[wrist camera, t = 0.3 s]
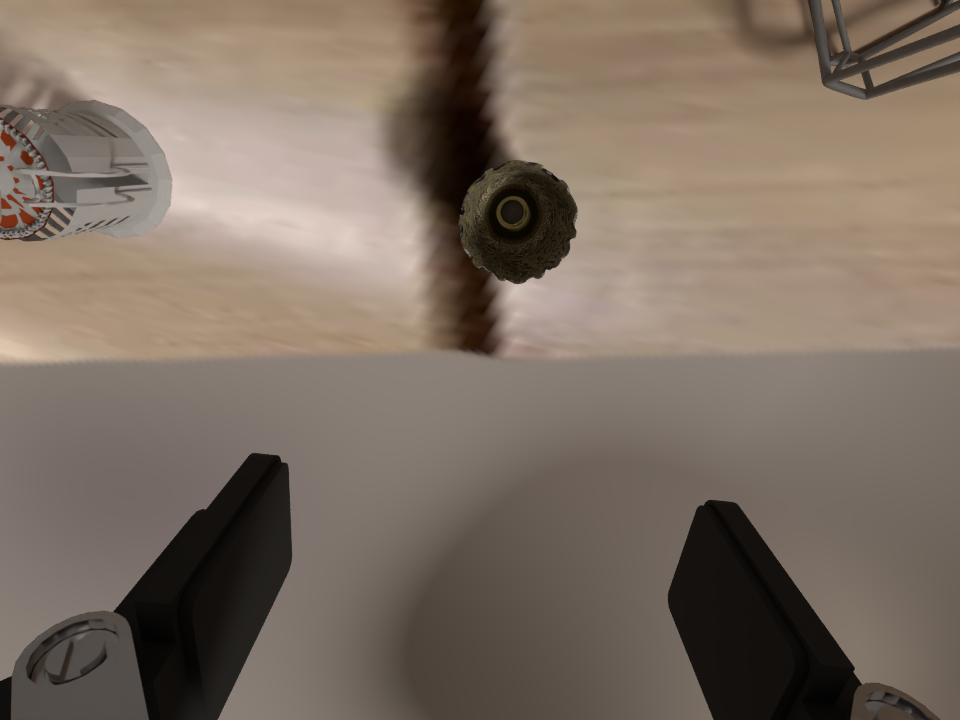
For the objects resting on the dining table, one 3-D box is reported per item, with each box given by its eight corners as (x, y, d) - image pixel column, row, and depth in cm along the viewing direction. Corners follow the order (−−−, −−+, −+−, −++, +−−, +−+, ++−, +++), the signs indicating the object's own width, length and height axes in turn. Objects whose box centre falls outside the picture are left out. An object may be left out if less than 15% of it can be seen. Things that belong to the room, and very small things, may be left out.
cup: (445, 224, 39) (435, 239, 32) (500, 138, 37) (503, 134, 29) (522, 278, 40) (530, 305, 33) (580, 199, 38) (602, 209, 31)
